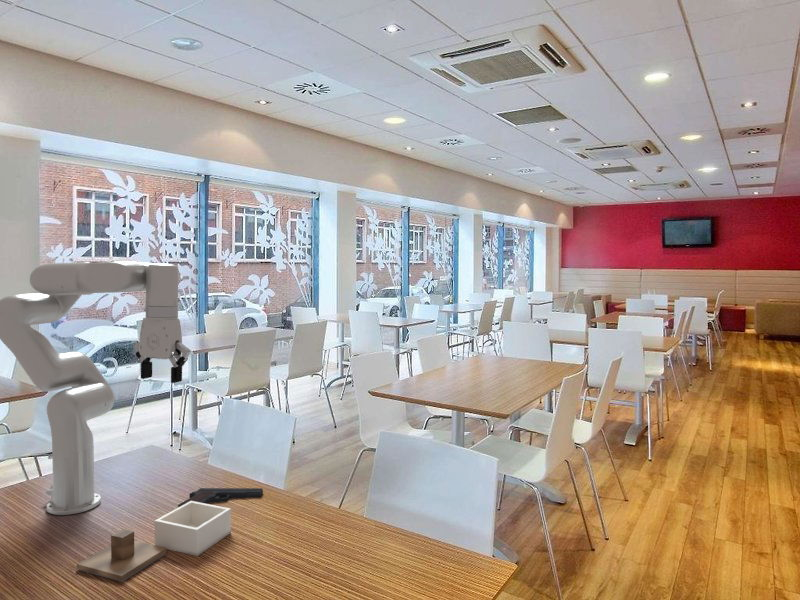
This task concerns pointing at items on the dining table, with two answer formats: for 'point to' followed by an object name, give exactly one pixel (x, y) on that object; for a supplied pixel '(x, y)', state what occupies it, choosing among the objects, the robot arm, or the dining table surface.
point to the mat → (128, 576)
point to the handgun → (221, 494)
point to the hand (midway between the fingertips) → (161, 380)
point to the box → (193, 527)
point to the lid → (121, 556)
